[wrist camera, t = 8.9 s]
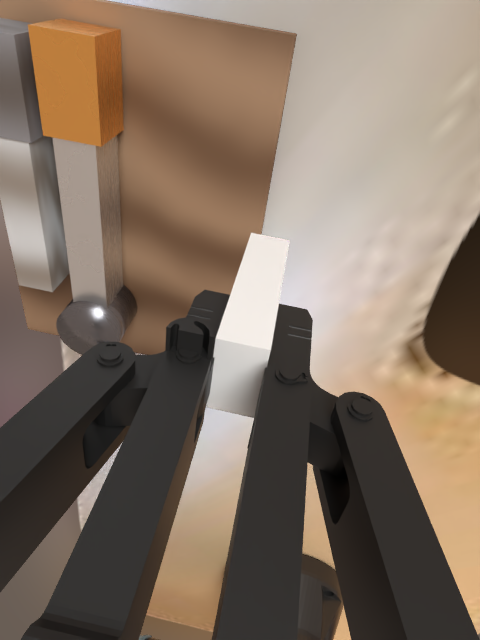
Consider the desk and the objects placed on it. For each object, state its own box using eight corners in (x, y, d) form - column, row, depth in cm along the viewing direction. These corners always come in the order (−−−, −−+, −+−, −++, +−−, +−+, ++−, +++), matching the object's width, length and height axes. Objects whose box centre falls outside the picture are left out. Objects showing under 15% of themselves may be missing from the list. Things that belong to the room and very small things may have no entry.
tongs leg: (137, 328, 36) (118, 363, 33) (84, 317, 36) (60, 350, 33) (132, 30, 23) (100, 40, 20) (50, 16, 24) (6, 23, 20)
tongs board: (237, 367, 38) (227, 407, 35) (33, 323, 39) (3, 357, 36) (296, 33, 23) (289, 45, 20) (-39, -25, 24) (-102, -24, 21)
